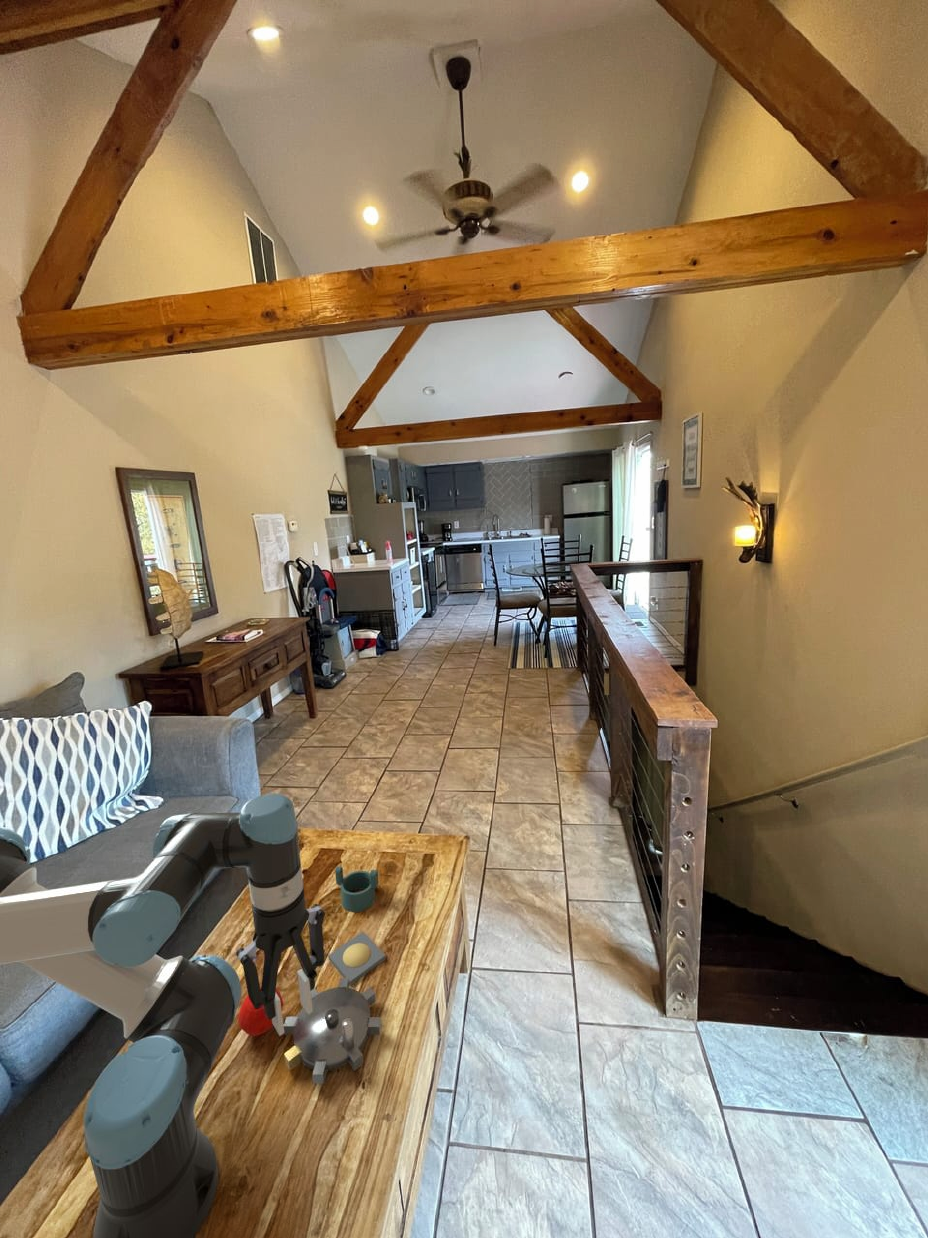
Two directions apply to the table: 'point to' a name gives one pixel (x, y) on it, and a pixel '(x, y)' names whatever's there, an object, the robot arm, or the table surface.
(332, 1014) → the hub
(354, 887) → the bracket
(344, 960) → the seat
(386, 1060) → the table surface
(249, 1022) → the apple
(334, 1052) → the sprocket
